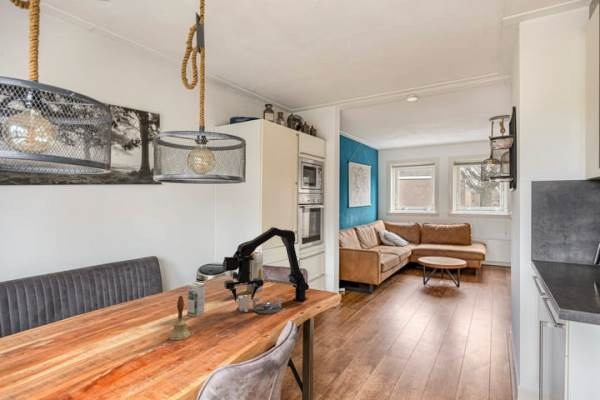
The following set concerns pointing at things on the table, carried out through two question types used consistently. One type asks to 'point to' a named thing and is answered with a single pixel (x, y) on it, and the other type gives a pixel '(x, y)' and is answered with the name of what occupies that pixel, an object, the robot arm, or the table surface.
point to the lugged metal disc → (266, 306)
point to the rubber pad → (242, 310)
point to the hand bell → (180, 324)
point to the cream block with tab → (243, 303)
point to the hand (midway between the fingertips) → (243, 300)
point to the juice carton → (256, 269)
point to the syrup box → (196, 299)
